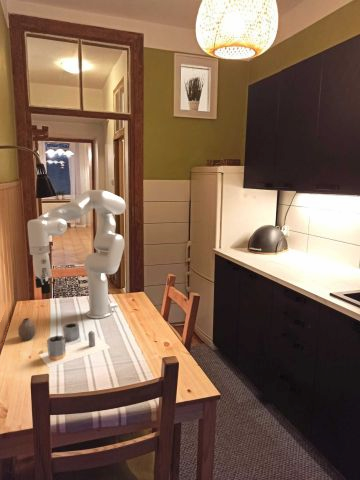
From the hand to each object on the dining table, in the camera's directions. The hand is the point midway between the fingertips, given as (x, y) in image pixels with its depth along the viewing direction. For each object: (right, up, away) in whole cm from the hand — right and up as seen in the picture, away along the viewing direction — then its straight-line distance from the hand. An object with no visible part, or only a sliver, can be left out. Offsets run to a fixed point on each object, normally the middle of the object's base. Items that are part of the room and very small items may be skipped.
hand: (43, 290), depth 144 cm
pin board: (+16, -24, -8) cm, 30 cm away
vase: (-9, -22, +7) cm, 25 cm away
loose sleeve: (+11, -22, +3) cm, 25 cm away
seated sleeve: (+10, -23, -13) cm, 28 cm away
